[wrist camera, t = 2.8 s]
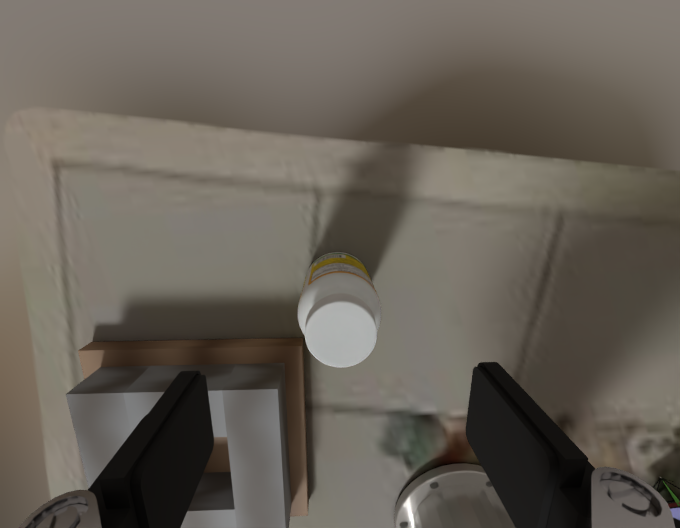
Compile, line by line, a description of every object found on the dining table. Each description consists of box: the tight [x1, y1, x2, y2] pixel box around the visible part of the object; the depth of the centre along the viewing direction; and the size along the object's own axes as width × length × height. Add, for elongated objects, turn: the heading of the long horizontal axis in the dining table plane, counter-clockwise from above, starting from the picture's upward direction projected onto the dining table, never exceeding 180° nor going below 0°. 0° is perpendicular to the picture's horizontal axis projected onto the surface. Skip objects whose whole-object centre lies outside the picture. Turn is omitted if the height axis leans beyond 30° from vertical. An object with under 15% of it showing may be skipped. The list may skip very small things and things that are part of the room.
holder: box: [66, 338, 309, 528], centre depth 27 cm, size 18×18×5 cm
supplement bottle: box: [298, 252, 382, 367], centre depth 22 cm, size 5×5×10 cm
